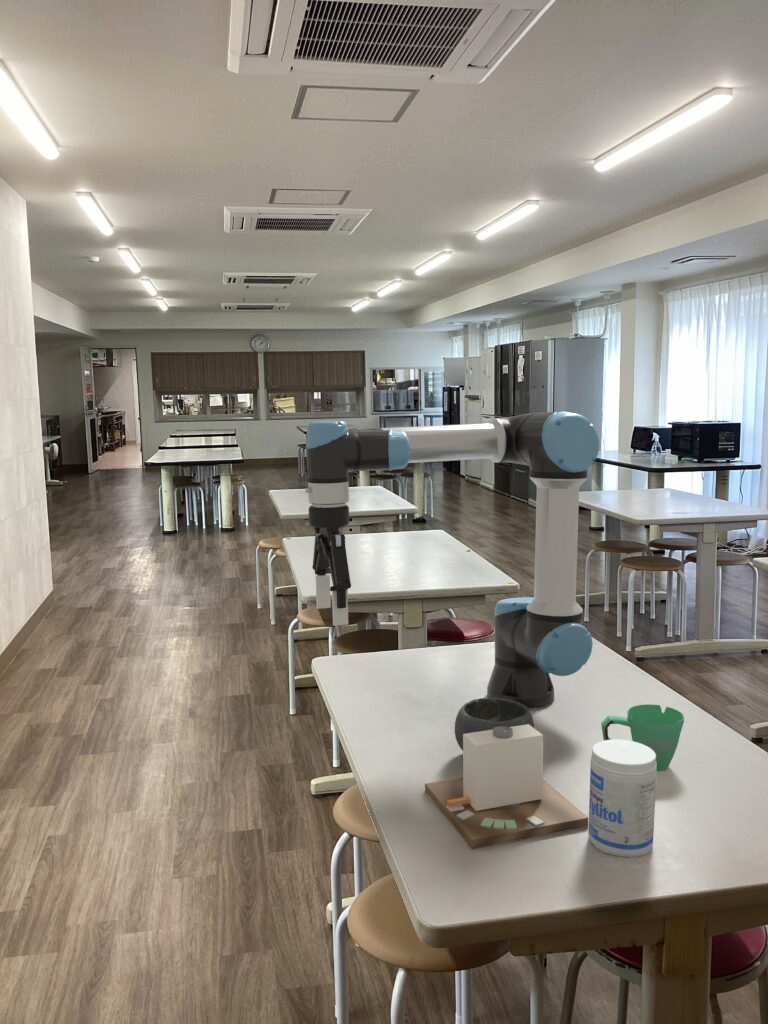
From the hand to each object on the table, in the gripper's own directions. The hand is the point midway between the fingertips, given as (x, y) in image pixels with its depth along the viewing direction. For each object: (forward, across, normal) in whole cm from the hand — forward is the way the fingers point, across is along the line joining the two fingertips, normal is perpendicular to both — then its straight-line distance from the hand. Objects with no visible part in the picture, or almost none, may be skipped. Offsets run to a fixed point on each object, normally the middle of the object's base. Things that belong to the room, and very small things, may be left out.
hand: (331, 616), depth 157 cm
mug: (+28, +24, +52) cm, 64 cm away
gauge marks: (+26, +35, +17) cm, 47 cm away
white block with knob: (+26, +31, +19) cm, 44 cm away
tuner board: (+27, +30, +21) cm, 46 cm away
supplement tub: (+28, +46, +33) cm, 63 cm away
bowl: (+28, +12, +28) cm, 41 cm away
